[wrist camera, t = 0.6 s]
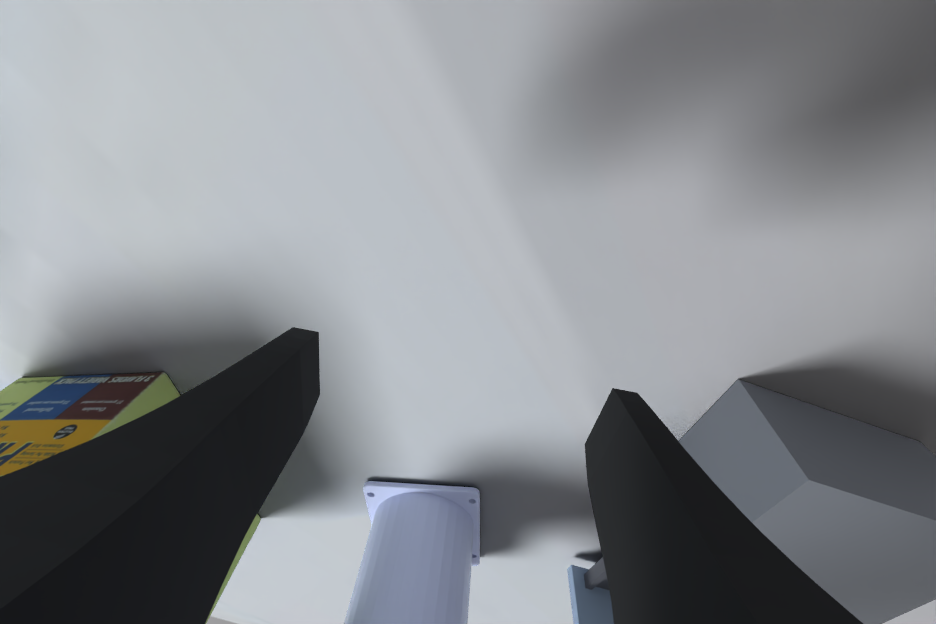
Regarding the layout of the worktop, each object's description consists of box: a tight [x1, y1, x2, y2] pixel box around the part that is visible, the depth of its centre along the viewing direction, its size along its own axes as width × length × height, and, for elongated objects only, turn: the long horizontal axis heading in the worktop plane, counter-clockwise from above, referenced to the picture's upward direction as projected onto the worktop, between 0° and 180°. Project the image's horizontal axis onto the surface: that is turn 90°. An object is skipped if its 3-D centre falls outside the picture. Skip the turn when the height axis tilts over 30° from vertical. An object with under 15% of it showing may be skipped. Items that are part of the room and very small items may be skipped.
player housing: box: [679, 379, 936, 624], centre depth 23 cm, size 11×12×6 cm
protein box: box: [0, 372, 261, 624], centre depth 23 cm, size 10×15×16 cm
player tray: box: [567, 557, 614, 624], centre depth 27 cm, size 11×12×5 cm
